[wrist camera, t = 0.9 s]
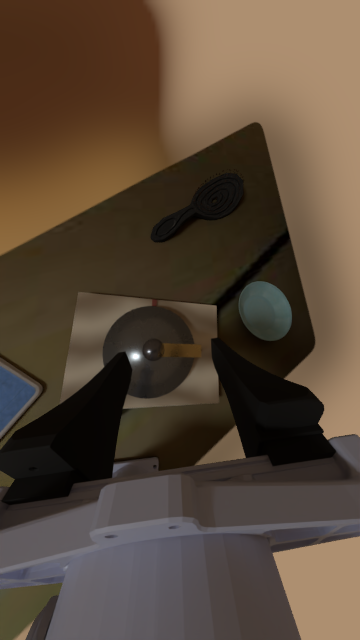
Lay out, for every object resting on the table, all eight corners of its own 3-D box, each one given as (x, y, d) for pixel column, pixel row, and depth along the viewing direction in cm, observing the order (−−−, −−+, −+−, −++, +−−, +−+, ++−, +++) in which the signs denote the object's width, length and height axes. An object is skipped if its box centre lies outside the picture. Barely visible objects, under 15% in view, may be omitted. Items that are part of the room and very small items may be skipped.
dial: (98, 398, 20) (84, 414, 15) (109, 304, 22) (100, 291, 18) (192, 394, 23) (205, 406, 18) (193, 311, 25) (204, 302, 20)
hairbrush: (136, 212, 26) (230, 158, 32) (137, 228, 29) (222, 176, 35) (168, 249, 26) (255, 187, 32) (166, 260, 29) (245, 203, 35)
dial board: (214, 399, 25) (219, 403, 23) (64, 408, 20) (57, 413, 18) (212, 307, 28) (217, 305, 27) (82, 295, 23) (77, 291, 22)
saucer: (223, 321, 28) (229, 318, 26) (245, 275, 32) (252, 269, 30) (271, 352, 30) (282, 353, 27) (288, 305, 33) (298, 302, 31)
